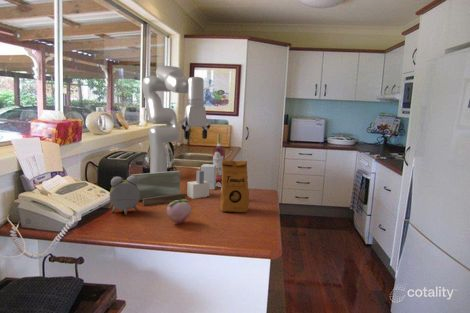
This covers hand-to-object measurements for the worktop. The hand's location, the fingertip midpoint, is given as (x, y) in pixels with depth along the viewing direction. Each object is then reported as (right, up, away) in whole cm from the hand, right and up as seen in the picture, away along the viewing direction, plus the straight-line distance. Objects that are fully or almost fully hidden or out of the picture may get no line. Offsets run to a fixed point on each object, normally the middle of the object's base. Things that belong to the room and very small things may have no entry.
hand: (195, 138), depth 168 cm
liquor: (+9, -23, +38) cm, 45 cm away
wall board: (-16, -29, -7) cm, 34 cm away
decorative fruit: (-2, -34, -37) cm, 51 cm away
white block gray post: (+1, -28, +3) cm, 28 cm away
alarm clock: (-26, -32, -27) cm, 49 cm away
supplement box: (+5, -26, +20) cm, 33 cm away
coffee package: (+19, -32, -19) cm, 42 cm away
